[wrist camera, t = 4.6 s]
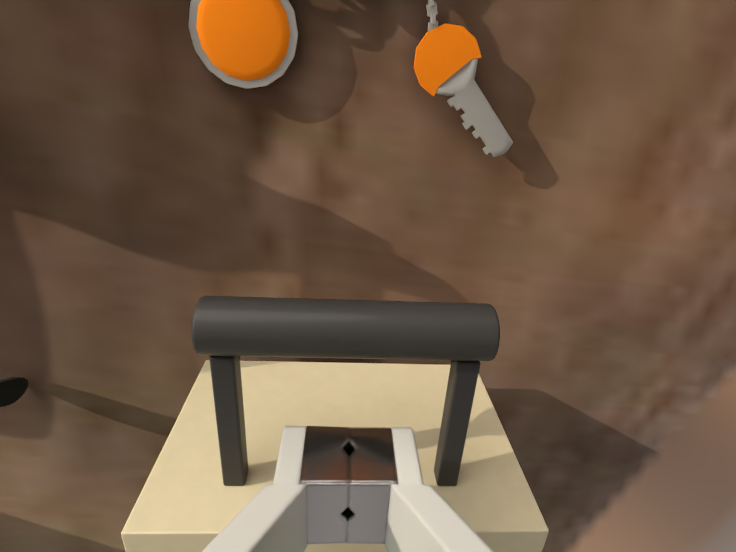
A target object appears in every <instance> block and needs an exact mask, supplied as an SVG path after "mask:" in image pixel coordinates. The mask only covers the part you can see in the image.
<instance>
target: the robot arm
mask: <svg viewBox="0 0 736 552" xmlns="http://www.w3.org/2000/svg"><path fill="white" fill-rule="evenodd" d="M333 543H364V544H385V547H386V549H387V551H388V552H494V551H493V550H492V549H491V548H490V547H489V546H488V545H487V544H486V543H485V542H484V541H483V540H482V539H481V538H480V536H479V535H478V534H477V533H476V532H475V531H474V530H473V529H472V528H471V527H470V526H469V525H468V524H467V523H466V522H465V521H464V520H463V519H462V518H461V516H460V515H459V514H458V513H457V512H456V511H455V510H454V509H453V508H452V507H451V506H450V505H449V504H448V503H447V502H446V501H445V500H444V499H443V498H442V496H441V495H440V494H439V493H438V492H437V491H436V490H435V489H434V488H433V487H432V486H431V485H424V482H423V477H422V472H421V467H420V461H419V456H418V451H417V446H416V440H415V435H414V430H413V429H412V427H391V428H390V427H327V426H288V425H285V427H284V429H283V432H282V438H281V443H280V449H279V454H278V460H277V465H276V471H275V476H274V482H273V484H266V485H265V486H264V487H263V488H262V489H261V490H260V491H259V492H258V493H257V494H256V496H255V497H254V498H253V499H252V500H251V501H250V502H249V503H248V504H247V505H246V506H245V507H244V508H243V509H242V510H241V511H240V512H239V513H238V514H237V515H236V516H235V517H234V518H233V519H232V520H231V522H230V523H229V524H228V525H227V526H226V527H225V528H224V529H223V530H222V531H221V532H220V533H219V534H218V535H217V536H216V537H215V538H214V539H213V540H212V541H211V542H210V543H209V544H208V545H207V546H206V547H205V549H204V550H203V551H202V552H304V551H305V550H306V548H307V544H333Z"/></svg>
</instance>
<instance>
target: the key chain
mask: <svg viewBox="0 0 736 552" xmlns="http://www.w3.org/2000/svg"><path fill="white" fill-rule="evenodd" d="M427 2H428V5H426V8H427V15H428V16H430V22H428V32H427V33H426V34H425V36H424V37H423V39H422V40H421V42H420V43H419V45H418V46H417V48H416V53H415V61H414V70H415V73H416V75H417V78H418V81H419V84H420V86H422V87H423V88H424V89H425V90H426V91H427V92H429V93H430V94H431V95H432V96H433V97H434V96H435V94H441V95H447V96H452V97H451V98H450V99H449V100H447V102H448V104H449V105H450V107H452V106H454V107H455V109H456V110H457V111H458V110H459V109H460V108H462V110H463V111H464V114H463V115H462V116H461V118H462V119H463V121H464V123H462V125H463V126H464V128H465V129H466V130H467V129H468V128H469V127H470V126H472V125H473V127H474V128H475V131H473V132H472V134H473V136H474V137H475V139H476V138H478V137H479V136H480V137H481V139H482V140H483V142H484V143H485V145H486V147H484V148H483V151H484V153H485V154H486V155H487V154H488V153H491V154H492V156H493V157H496V156H499V155H501V154H504V153H506V152H507V150H508V149H509V148H510V146H511V145H512V144H513V141H512V140H511V138H510V136H509V135H508V133H507V132H506V130H505V128H504V127H503V125H502V124H501V122H500V120H499V119H498V117H497V116H496V114H495V112H494V111H493V109H492V108H491V106H490V104H489V103H488V101H487V100H486V98H485V96H484V95H483V93H482V92H481V90H480V88H479V87H478V85H477V84H476V82H475V80H474V78H475V74H476V68H477V63H478V58H481V54H480V50H479V47H478V43H477V40H476V38H475V37H474V36H473V35H472V34H471V33H469V32H468V31H467V30H466V29H465V28H464V27H463V26H458V25H452V24H446V23H445V24H443V25H441V26H439V27H438V21H436V17H435V15H438V11H437V4H436V2H433V0H427ZM188 27H189V31H190V34H191V38H192V42H193V45H194V49H195V51H196V53H197V54H198V56H199V57H200V59H201V60H202V61H203V63H204V64H205V66H206V67H207V69H208V70H209V71H210V72H212V73H213V74H214V75H216V76H217V77H218V78H220V79H221V80H223V81H224V82H225V83H227V84H231V85H235V86H238V87H242V88H246V89H248V88H255V87H262V86H268V85H269V84H271V83H272V82H274V81H275V80H277V79H278V78H279V77H281V76H282V75H284V73H285V72H286V70H287V69H288V67H289V65H290V64H291V62H292V61H293V59H294V57H295V53H296V47H297V41H298V36H299V34H298V28H297V23H296V17H295V11H294V9H293V8H292V6H291V4H290V2H289V1H288V0H191V2H190V13H189V25H188Z"/></svg>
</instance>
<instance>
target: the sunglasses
mask: <svg viewBox="0 0 736 552" xmlns="http://www.w3.org/2000/svg"><path fill="white" fill-rule="evenodd" d="M27 387H28V381H27V379H25V378H24V377H11V378H7V379H2V380H0V407H3V406H7V405H10V404H12V403H14V402H15V401H17V400H18V399H19V398H20V397H21V396H22V395H23V394H24V392H25V391H26V389H27Z"/></svg>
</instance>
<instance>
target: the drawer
mask: <svg viewBox="0 0 736 552" xmlns="http://www.w3.org/2000/svg"><path fill="white" fill-rule="evenodd" d="M499 340H500V326H499V320H498V315H497V312H496V310H495V308H494V307H493V306H492V305H490V304H477V303H442V302H406V301H371V300H336V299H301V298H265V297H230V296H203V297H201V298H200V299H199V300H198V302H197V304H196V307H195V310H194V314H193V320H192V341H193V346H194V349H195V352H196V353H197V354H199V355H201V356H210V358H209V359H210V360H206V361H205V363H204V365H203V367H202V369H201V371H200V373H199V375H198V377H197V379H196V381H195V383H194V385H193V387H192V389H191V391H190V394H189V396H188V398H187V400H186V402H185V404H184V406H183V408H182V410H181V412H180V414H179V416H178V418H177V420H176V422H175V424H174V426H173V428H172V430H171V432H170V434H169V436H168V438H167V440H166V442H165V444H164V447H163V449H162V451H161V453H160V455H159V457H158V459H157V461H156V463H155V465H154V467H153V469H152V471H151V473H150V475H149V477H148V479H147V481H146V483H145V485H144V487H143V489H142V491H141V493H140V495H139V497H138V499H137V502H136V504H135V506H134V508H133V510H132V512H131V514H130V516H129V518H128V520H127V522H126V524H125V526H124V528H123V530H122V532H121V536H122V540H123V543H124V547H125V551H126V552H202V551H203V550H204V549H205V547H206V546H207V545H208V544H209V543H210V542H211V541H212V540H213V539H214V538H215V537H216V536H217V535H218V534H219V533H220V532H221V531H222V530H223V529H224V528H225V527H226V526H227V525H228V524H229V523H230V522H231V520H232V519H233V518H234V517H235V516H236V515H237V514H238V513H239V512H240V511H241V510H242V509H243V508H244V507H245V506H246V505H247V504H248V503H249V502H250V501H251V500H252V499H253V498H254V497H255V496H256V494H257V493H258V492H259V491H260V490H261V489H262V488H263V487H264V486H265V485H266V484H273V482H274V476H275V471H276V465H277V460H278V454H279V449H280V443H281V438H282V432H283V429H284V427H285V425H288V426H327V427H390V428H391V427H412V429H413V430H414V435H415V440H416V446H417V451H418V456H419V461H420V467H421V472H422V477H423V482H424V485H431V486H432V487H433V488H434V489H435V490H436V491H437V492H438V493H439V494H440V495H441V496H442V498H443V499H444V500H445V501H446V502H447V503H448V504H449V505H450V506H451V507H452V508H453V509H454V510H455V511H456V512H457V513H458V514H459V515H460V516H461V518H462V519H463V520H464V521H465V522H466V523H467V524H468V525H469V526H470V527H471V528H472V529H473V530H474V531H475V532H476V533H477V534H478V535H479V536H480V538H481V539H482V540H483V541H484V542H485V543H486V544H487V545H488V546H489V547H490V548H491V549H492V550H493V551H494V552H542V550H543V547H544V544H545V541H546V538H547V535H548V532H549V530H548V528H547V525H546V523H545V521H544V519H543V516H542V514H541V512H540V510H539V507H538V505H537V503H536V501H535V498H534V496H533V494H532V492H531V489H530V487H529V485H528V483H527V480H526V478H525V476H524V474H523V471H522V469H521V467H520V465H519V462H518V460H517V458H516V456H515V454H514V451H513V449H512V447H511V445H510V442H509V440H508V438H507V436H506V433H505V431H504V429H503V427H502V424H501V422H500V420H499V418H498V415H497V413H496V411H495V409H494V406H493V404H492V402H491V400H490V397H489V395H488V393H487V391H486V388H485V386H484V384H483V382H482V379H481V377H480V375H479V368H480V361H490V360H493V359H494V358H495V356H496V354H497V351H498V347H499ZM240 356H251V357H302V358H352V359H403V360H451V365H438V364H386V363H334V362H281V361H240ZM304 552H388V551H387V549H386V547H385V544H364V543H333V544H307V548H306V550H305V551H304Z"/></svg>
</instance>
